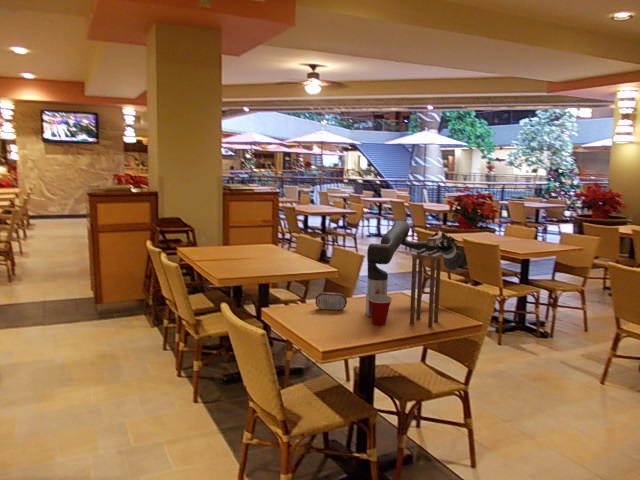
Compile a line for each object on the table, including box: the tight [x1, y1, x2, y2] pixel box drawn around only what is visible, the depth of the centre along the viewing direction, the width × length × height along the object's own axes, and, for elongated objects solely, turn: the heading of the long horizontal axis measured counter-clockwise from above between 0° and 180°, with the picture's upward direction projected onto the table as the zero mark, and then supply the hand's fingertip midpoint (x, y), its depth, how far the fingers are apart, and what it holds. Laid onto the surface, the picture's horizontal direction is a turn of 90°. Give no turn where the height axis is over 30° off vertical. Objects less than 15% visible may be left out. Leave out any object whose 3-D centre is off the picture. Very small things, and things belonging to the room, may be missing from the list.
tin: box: [314, 291, 348, 312], centre depth 252 cm, size 15×3×8 cm, turn 84°
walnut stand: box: [409, 249, 443, 328], centre depth 232 cm, size 10×10×32 cm
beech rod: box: [426, 233, 443, 246], centre depth 241 cm, size 3×18×3 cm, turn 152°
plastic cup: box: [367, 294, 393, 327], centre depth 230 cm, size 11×11×12 cm
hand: (439, 234), depth 245 cm, fingers closed on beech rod, 2 cm apart
